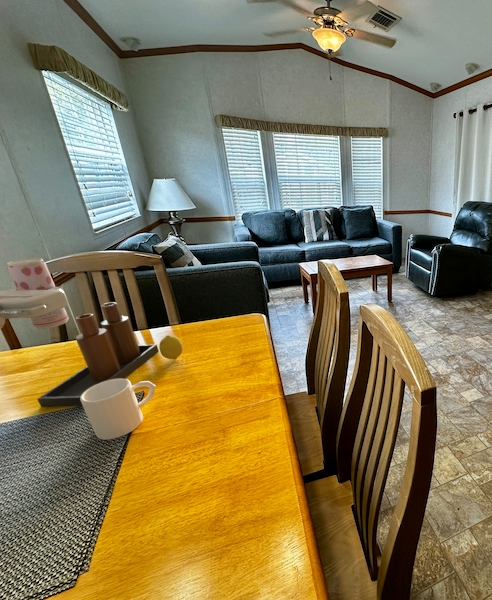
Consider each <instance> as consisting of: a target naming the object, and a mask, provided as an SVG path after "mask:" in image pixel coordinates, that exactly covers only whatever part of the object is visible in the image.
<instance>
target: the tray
mask: <svg viewBox="0 0 492 600" xmlns="http://www.w3.org/2000/svg"><path fill="white" fill-rule="evenodd" d="M138 347H139V350H140V353H141V355H140V356H138V357H137V358H136V359H134V360H133V361H132V362H129V363H125V364H119V365H120V367H121V370H120V371H119V372H117V373H116V374H115V375H113V376H112V377H111V378H109V379H106V380H100V381H96V380H93V379H92V376H91V374H90V371H89V369H88V367H87V365H86V366H85V367H83V368H82V369H80V370H78V371H77V372H76V373H74V374H72V375H70V377H68V378H67V379H65V380H63V381H62V382H60V383H59V384H58V385H56V386H54V387H53V388H51V389H50V390H48V391H47V392H45V393H44V394H42V395H41V396H39V397H38V398H36V400H37V402H38V403H39V405H40V407H41V408H65V407H67V408H69V407H83V405H82V403H81V401H80V397H81V395H82V394H83V393H84V392H85V391H86V390H87V389H89V388H90V387H92V386H94V385H96V384H99V383H101V382H104V381H107V380H112V379H120V378H122V379H127V377H130V375H131V374H132V373H134V372H135V371H136V370H138V369H139V368H140V367H142V366H143V364H145V363H146V362H147V361H149V360H150V359H151V358H153V357H154V356H155V355H156V354H158V352H160V349H159V348H158V345H157V344H156V343H155V344H153V343H152V344H138Z"/></svg>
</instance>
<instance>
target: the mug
mask: <svg viewBox="0 0 492 600" xmlns="http://www.w3.org/2000/svg"><path fill="white" fill-rule="evenodd" d="M142 387H147V388H148V390H149V391H148V394H147V395H146V396H145V397H144V398H143V399H142V400H140V401H139V402H138V399H137V396H136V394H135V390H136V389H138V388H142ZM156 387H157V385H156V384H154V383H153V382H151V381H149V380H142V381H138V382H136V383H135V384H133V385H132V383H131V380H129V379H127V378H125V379H122V378H120V379H112V380H107V381H104V382H101V383H99V384H96V385H94V386H92V387H90V388H89V389H87V390H86V391H85V392H84V393H83V394H82V395H81V397H80V401H81V403H82V405H83V406H82V408H83V410H84V412H85V414H86V416H87V418H88V421H89V423H90V426H91V428H92V429H93V432H94V434H95V436H96V437H97V438H98V439H99V440H104V441H106V440H108V441H109V440H113V439H118V438H120V437H123V436H126V435H127V434H129V433H131V432H133V431H135V429H137V428H138V427H139V426H140V425H141V424H142V422H143V420H144V416H143V413H142V410H141V407H142V406H144V405H146V404H147V403H148V402H149V401H151V400H152V399H153V397H154V394H155V391H156Z"/></svg>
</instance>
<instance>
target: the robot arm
mask: <svg viewBox="0 0 492 600" xmlns="http://www.w3.org/2000/svg"><path fill="white" fill-rule="evenodd" d="M68 304H69V300H68V297H67V295H66V293H65V291H64V290H63V289H62V288H61V287H60V286H55V287H50V288H47V289H46V290H17V288H16V287H15V288H13V289H6V290H0V330H1V329H2V328H3V327H4V326H5V323H6V320H7V319H8V320H10V319H11V320H12V319H31V318H32V317H37V316H41V315H44V314H47V313H50V312H53V311H56V310H58V309H61V308H66V307H68Z"/></svg>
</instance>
